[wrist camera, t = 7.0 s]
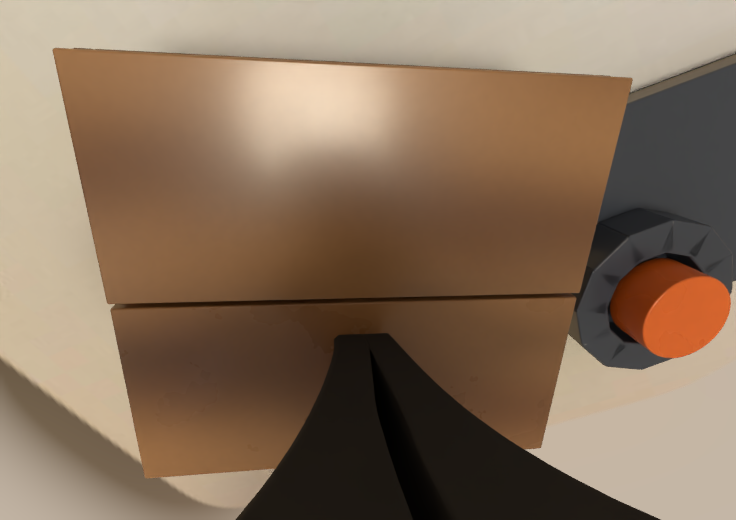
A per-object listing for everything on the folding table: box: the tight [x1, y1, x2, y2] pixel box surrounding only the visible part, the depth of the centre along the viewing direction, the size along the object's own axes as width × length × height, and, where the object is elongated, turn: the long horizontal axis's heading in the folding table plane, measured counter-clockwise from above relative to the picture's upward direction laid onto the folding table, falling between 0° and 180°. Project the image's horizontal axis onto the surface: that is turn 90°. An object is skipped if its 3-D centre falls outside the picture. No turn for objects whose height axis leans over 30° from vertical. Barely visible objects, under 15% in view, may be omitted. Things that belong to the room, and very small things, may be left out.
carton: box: [53, 48, 633, 304], centre depth 13 cm, size 11×12×6 cm
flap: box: [111, 293, 576, 478], centre depth 11 cm, size 5×12×1 cm, turn 88°
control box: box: [568, 54, 736, 370], centre depth 16 cm, size 10×10×3 cm
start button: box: [610, 258, 731, 358], centre depth 15 cm, size 3×3×2 cm
